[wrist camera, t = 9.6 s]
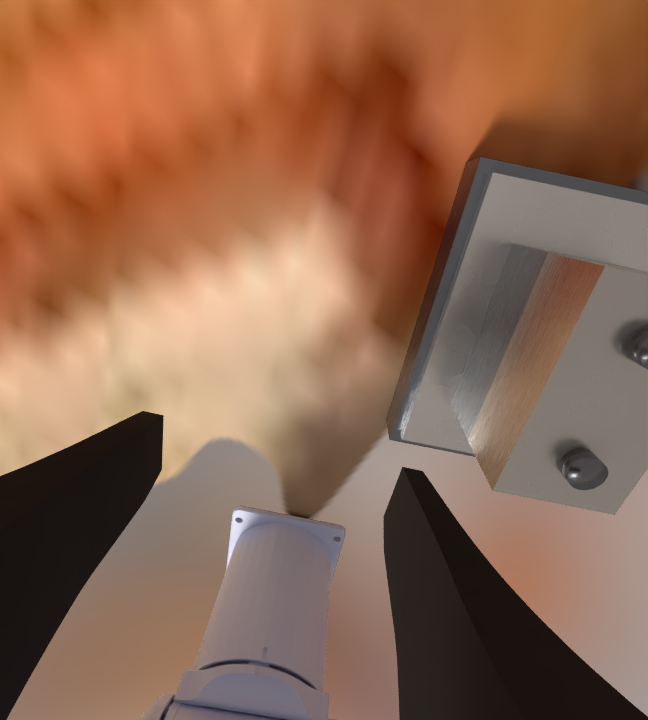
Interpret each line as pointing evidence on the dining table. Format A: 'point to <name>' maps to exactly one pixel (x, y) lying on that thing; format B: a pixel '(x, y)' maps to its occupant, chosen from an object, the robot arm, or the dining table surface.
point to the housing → (560, 381)
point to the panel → (483, 268)
